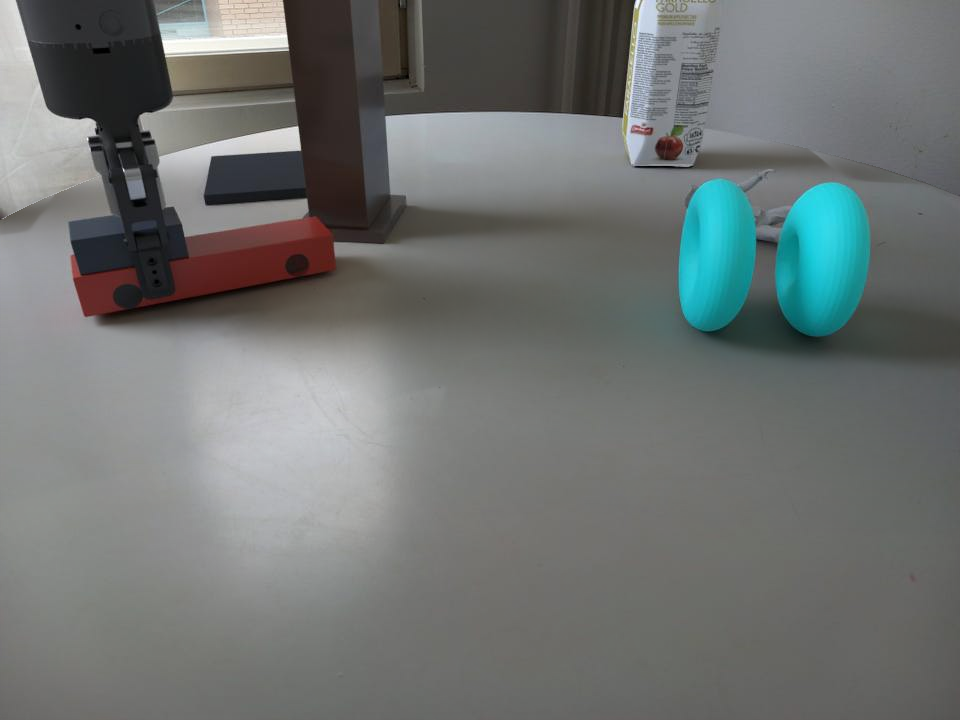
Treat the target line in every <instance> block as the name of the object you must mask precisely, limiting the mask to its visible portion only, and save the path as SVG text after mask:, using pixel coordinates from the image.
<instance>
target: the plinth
mask: <svg viewBox="0 0 960 720" xmlns="http://www.w3.org/2000/svg"><path fill="white" fill-rule="evenodd" d="M282 5H283V14H284V22H285V31H286V38H287V47H288V55H289V63H290V70H291V71H290V73H291V78H292V86H293V87H292V88H293V96H294V104H295V112H296V120H297V128H298V135H299V146H300V151H301V153H302V162H303V170H304V178H305V186H306V194H307V197H306V202H307V209H308V211H307V212H306V213H305V215H304V216H302V218H308V217H314V216H316V217H317V218H318V219H319V220H320V221H321V222H322V223H323V224H324V226H325V227H326V228H327V229H328V230H329V231H330V232H331V233H332V234H333V242H344V243H345V242H346V243H347V242H349V243H365V244H367V243H369V244H370V243H371V244H384V242H385V241H386V239H387V238H388V236H389V235H390V233H391V232H392V230H393V228H394V227H395V225H396V223H397V221H398V219H399V218H400V216H401V214H402V213H403V211H404V210H405V208H406V207H407V195H406V194H391V184H390V183H391V182H390V168H389V166H390V165H389V153H388V152H389V151H388V136H387V120H386V119H387V118H386V102H385V89H384V88H385V86H384V74H383V73H384V72H383V71H384V70H383V55H382V41H381V40H382V39H381V38H382V37H381V24H380V8H379V6H380V5H379V0H282Z"/></svg>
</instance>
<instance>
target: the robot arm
mask: <svg viewBox="0 0 960 720" xmlns="http://www.w3.org/2000/svg"><path fill="white" fill-rule="evenodd" d="M15 3H16V6H17V10H18V13H19V17H20V21H21V24H22V27H23V31H24V34H25V37H26V41H27V45H28V48H29V52H30V54H31V58H32V59H31V60H32V62H33V65H34V66H33V67H34V69H35V72H36V77H37V79H38V84H39V86H40V90H41V94H42V98H43V101H44V105H45V107H46V109H47V110H48V111H49V112H50V113H51V114H53V115H55V116H58V117H61V118H64V119H70V120H77V121H79V120H80V121H81V120H85V119H90V120H92V121H94V122H95V128H94V132H95V135H90V136H89V135H88V136H86V139H87V143H88V147H89V152H90V155H91V159H92V162H93V167H94V170H95V171H96V172H97V173H98V174H99V175H100V176H101V181H102V184H103V188H104V192H105V197H106V199H107V203H108V208H109V210H110V213H111V214H112V215H115V216H117V217H119V218H121V221H122V225H123V229H124V233H125V236H126V239H124V242H125V246H126V247H128V248H129V252H131V254H132V258H133V262H134V265H135V269H136V273H137V277H138V281H139V285H140V289H141V293H142V296H143V297H144V298H145V299H148V300H151V299H157V298H162V297H167V296H171V295H173V294H174V293H175V285H174V280H173V276H172V272H171V267H170V263H169V258H168V254H167V250H166V247H167V246H169V241H170V236H169V233H167V231H166V226H165V221H164V216H163V211H162V210H163V209H164V208H166V206H167V201H166V198H165V193H164V189H163V185H162V181H161V177H160V173H159V168H158V167H159V165H160V162H161V161H160V155H159V151H158V147H157V144H156V140H155V138H153V137H152V133H151V130H149V129H147V130H141V129H140V126H139V118H140V117H141V115H143V114H153V113H156V112H159V111H162V110H164V109H165V108H167V107H168V106H170V105H171V104H172V102H173V99H174V93H173V87H172V83H171V82H172V81H171V77H170V73H169V67H168V63H167V58H166V53H165V49H164V42H163V38H162V32H161V28H160V23H159V19H158V13H157V8H156V2H155V0H15ZM149 220H154V224H155V228H156V229H150V230H144V231H137V232H133V230H132V224H133V223H135V222H142V221H149Z"/></svg>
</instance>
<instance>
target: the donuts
mask: <svg viewBox="0 0 960 720" xmlns="http://www.w3.org/2000/svg"><path fill="white" fill-rule="evenodd" d="M698 187H699V188H698V189H697V190H696V192H695V193H694V195H693V196H692V198H691V201H690V203H689V206H688V209H687V208H686V213H685V216H684V220H683V226H682V231H681V239H680V247H679V260H678V293H679V301H680V307H681V311H682V314H683V316H684V318H685V320H686V322H687V323H688V324H689V325H690V326H692V327H693V328H695V329H697V330H699V331H701V332H713V331H717V330H721V329H723V328H724V327H725V326H727V325H729V324H730V323H731V322H732V321H733V320H734V319H735V318H736V317H737V316H738V315H739V313H740V311H741V309H742V308H743V306H744V304H745V302H746V300H747V297H748V294H749V291H750V288H751V284H752V280H753V275H754V270H755V263H756V254H757V239H756V229H755V220H754V215H753V211H752V208H751V205H752V204H751V202H750V203H749V200H748V199H749V198H748V196H747V195H746V192H745V193H744V192H743V191H742V189H741V188H740V187H738V186H737V183H735V182H733V181H731V180H729V179H725V178H714V179H709V180H708V181H705V182H703V184H702V185H700V186H698ZM750 204H751V205H750ZM792 206H793V207H792V208H791V210H790V212H789V213H788V215H787V217H786V220H785V222H783V225H782V227H781V228H782V231H781V234H780V238H779V242H778V243H777V248H776V253H775V265H774V268H775V269H774V280H775V281H774V283H775V293H776V297H777V300H778V304H779V307H780V310H781V312H782V314H783V316H784V318H785V319H786V320H787V322H788V323H789V324H790V326H791V327H792V328H793V329H795V330H796V331H797V332H799V333H801V334H802V335H806V336H809V337H816V338H817V337H818V338H819V337H826V336H829V335H832V334H834V333H835V332H837V331H839V330H840V329H842V328H843V327H844V326H845V325H846V324H847V323H848V322H849V320H850V319H851V318H852V317H853V314H854V313H855V311H856V310H857V308H858V305H859V304H860V302H861V298H862V296H863V293H864V289H865V287H866V283H867V278H868V273H869V266H870V260H871V229H870V223H869V217H868V213H867V210H866V207H865V205H864V203H863V201H862V199H861V197H859V196H858V194H857V193H856V192H855V191H854V190H853V188H851V187H849V186H848V185H845V184H843V183H840V182H835V181H834V182H832V181H830V182H829V181H828V182H822V183H820V184H817V185H814V186H812V187H811V188H809V189H808V190H806V191H805V192H804V193H803V194H802V195H800V196H799V198H798V199H797V200H796V201H795V202H794V203H793V205H792Z"/></svg>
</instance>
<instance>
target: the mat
mask: <svg viewBox="0 0 960 720" xmlns="http://www.w3.org/2000/svg"><path fill="white" fill-rule="evenodd" d="M299 198H301V199H302V198H307V194H306V186H305V178H304V170H303V162H302V153H301V150H288V151H273V152H272V151H271V152H257V153H255V152H254V153H242V154H241V153H239V154H227V155H226V154H224V155H211V157H210V162H209V168H208V172H207V176H206V181H205V185H204V191H203V200H204V204H205V206H208V205H210V206H211V205H222V204H223V205H224V204H234V203H235V204H236V203H250V202H263V201H273V200H289V199H299Z"/></svg>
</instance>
